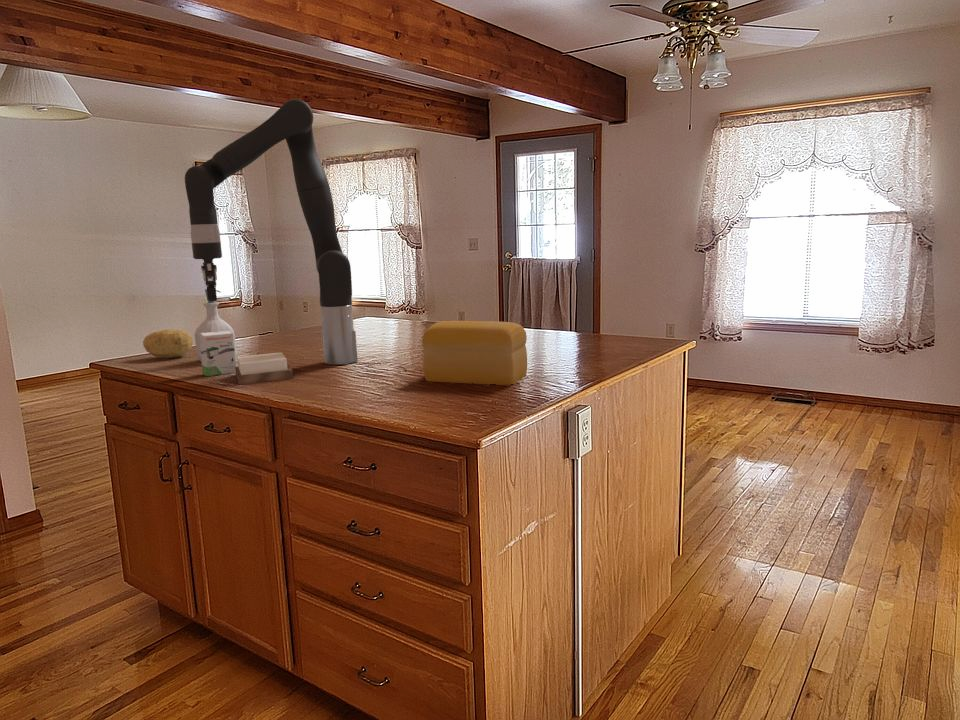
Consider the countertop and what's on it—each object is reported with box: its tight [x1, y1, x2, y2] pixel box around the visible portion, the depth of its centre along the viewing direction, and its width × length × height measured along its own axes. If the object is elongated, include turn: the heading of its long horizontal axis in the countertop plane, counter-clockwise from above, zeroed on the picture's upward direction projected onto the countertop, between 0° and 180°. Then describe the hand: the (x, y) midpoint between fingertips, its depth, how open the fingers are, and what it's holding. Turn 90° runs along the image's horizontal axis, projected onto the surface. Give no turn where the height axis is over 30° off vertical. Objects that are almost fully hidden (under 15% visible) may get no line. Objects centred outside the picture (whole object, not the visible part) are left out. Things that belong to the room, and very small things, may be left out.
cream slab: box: [236, 352, 288, 375], centre depth 189 cm, size 12×12×3 cm
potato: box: [142, 329, 194, 359], centre depth 224 cm, size 10×14×10 cm
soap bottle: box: [194, 288, 238, 362], centre depth 215 cm, size 10×10×23 cm
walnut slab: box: [235, 362, 294, 385], centre depth 190 cm, size 14×14×3 cm
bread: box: [421, 320, 528, 386], centre depth 177 cm, size 24×13×15 cm, turn 69°
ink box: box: [199, 331, 237, 377], centre depth 196 cm, size 9×5×12 cm, turn 123°
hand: (212, 299), depth 193 cm, fingers open, 8 cm apart
